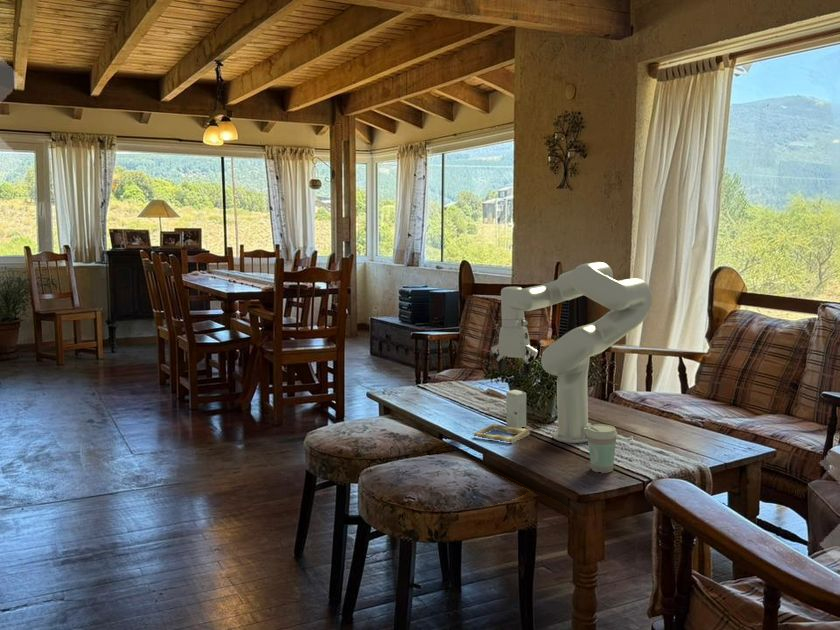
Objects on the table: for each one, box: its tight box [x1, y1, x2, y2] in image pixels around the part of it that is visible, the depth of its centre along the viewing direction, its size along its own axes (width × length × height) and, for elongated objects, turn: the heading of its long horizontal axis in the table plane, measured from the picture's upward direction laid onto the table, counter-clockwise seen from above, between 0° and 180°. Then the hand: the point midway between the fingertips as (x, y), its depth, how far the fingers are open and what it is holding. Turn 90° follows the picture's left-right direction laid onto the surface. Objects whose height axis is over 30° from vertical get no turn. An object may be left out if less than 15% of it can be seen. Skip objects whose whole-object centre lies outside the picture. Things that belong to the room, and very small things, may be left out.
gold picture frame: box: [473, 423, 531, 443], centre depth 237 cm, size 14×12×2 cm
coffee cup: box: [586, 423, 618, 474], centre depth 202 cm, size 8×8×12 cm
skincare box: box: [505, 389, 527, 428], centre depth 247 cm, size 6×4×12 cm
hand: (514, 373), depth 245 cm, fingers open, 9 cm apart
